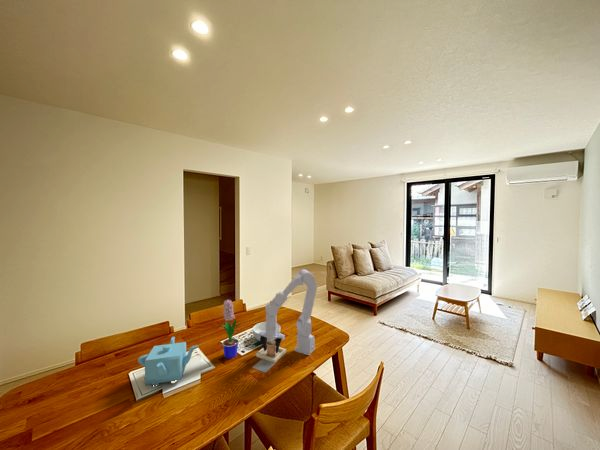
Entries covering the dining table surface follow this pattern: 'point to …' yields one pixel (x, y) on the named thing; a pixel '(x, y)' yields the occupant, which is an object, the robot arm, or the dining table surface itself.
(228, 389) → the dining table surface
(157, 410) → the dining table surface
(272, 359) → the square beige tray
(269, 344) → the pot
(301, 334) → the robot arm
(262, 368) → the coaster
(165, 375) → the teakettle
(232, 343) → the hyacinth
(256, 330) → the cereal bowl
